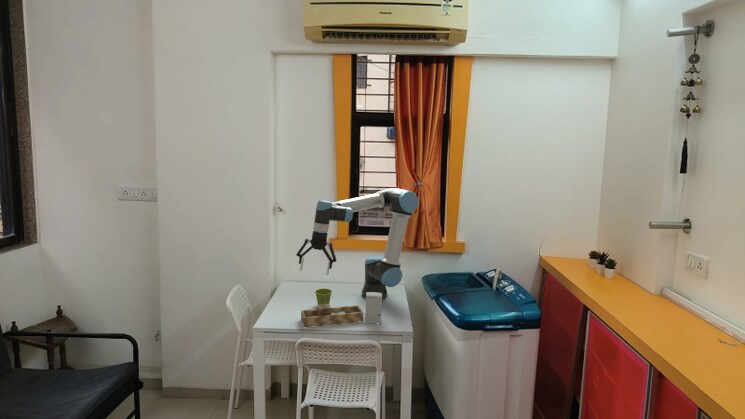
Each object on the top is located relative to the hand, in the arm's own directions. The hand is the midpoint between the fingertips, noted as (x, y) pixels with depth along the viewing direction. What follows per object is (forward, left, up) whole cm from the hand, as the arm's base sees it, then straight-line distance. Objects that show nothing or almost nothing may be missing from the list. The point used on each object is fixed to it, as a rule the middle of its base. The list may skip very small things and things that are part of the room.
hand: (314, 272), depth 229 cm
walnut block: (-4, +6, -21) cm, 22 cm away
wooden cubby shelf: (-8, +6, -24) cm, 26 cm away
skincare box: (-28, +12, -25) cm, 39 cm away
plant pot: (-7, -14, -25) cm, 29 cm away
